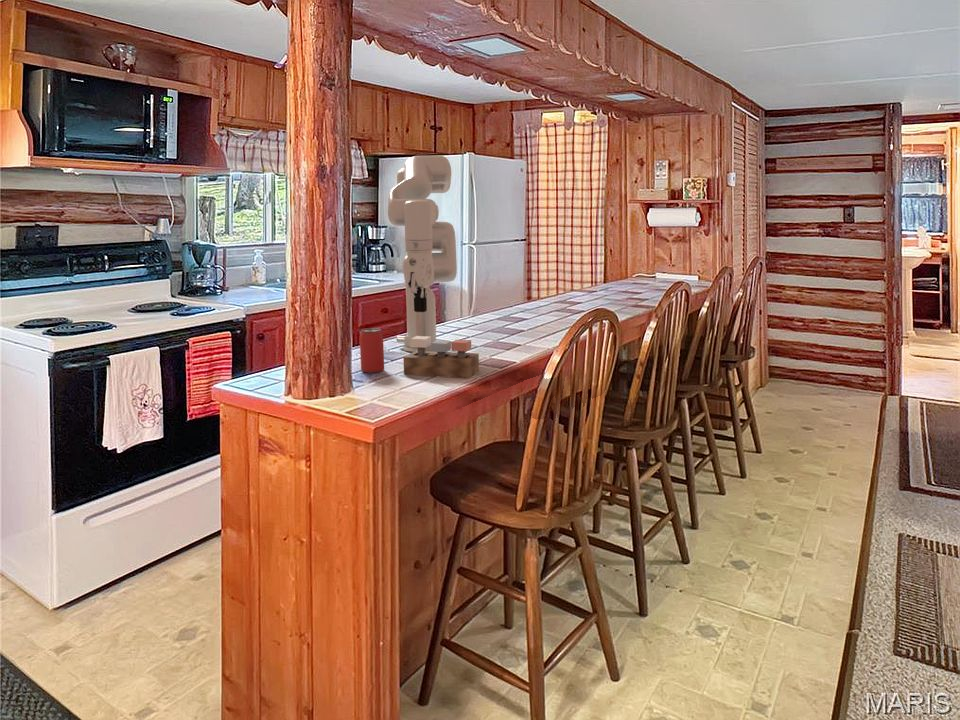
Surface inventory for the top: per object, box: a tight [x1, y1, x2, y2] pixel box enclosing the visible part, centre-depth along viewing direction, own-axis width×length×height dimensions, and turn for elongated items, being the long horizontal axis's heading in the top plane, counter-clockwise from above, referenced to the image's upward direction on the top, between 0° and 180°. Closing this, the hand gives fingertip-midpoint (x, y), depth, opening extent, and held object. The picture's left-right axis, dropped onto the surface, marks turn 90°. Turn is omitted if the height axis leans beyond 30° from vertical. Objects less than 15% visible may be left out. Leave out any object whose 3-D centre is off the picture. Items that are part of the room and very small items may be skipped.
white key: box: [411, 336, 431, 356], centre depth 204 cm, size 4×4×7 cm
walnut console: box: [403, 350, 480, 379], centre depth 203 cm, size 19×10×5 cm, turn 73°
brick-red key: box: [450, 339, 472, 358], centre depth 201 cm, size 4×4×7 cm
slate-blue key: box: [431, 339, 452, 357], centre depth 203 cm, size 4×4×7 cm
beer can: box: [359, 327, 385, 374], centre depth 205 cm, size 7×7×12 cm
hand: (420, 311), depth 203 cm, fingers closed
